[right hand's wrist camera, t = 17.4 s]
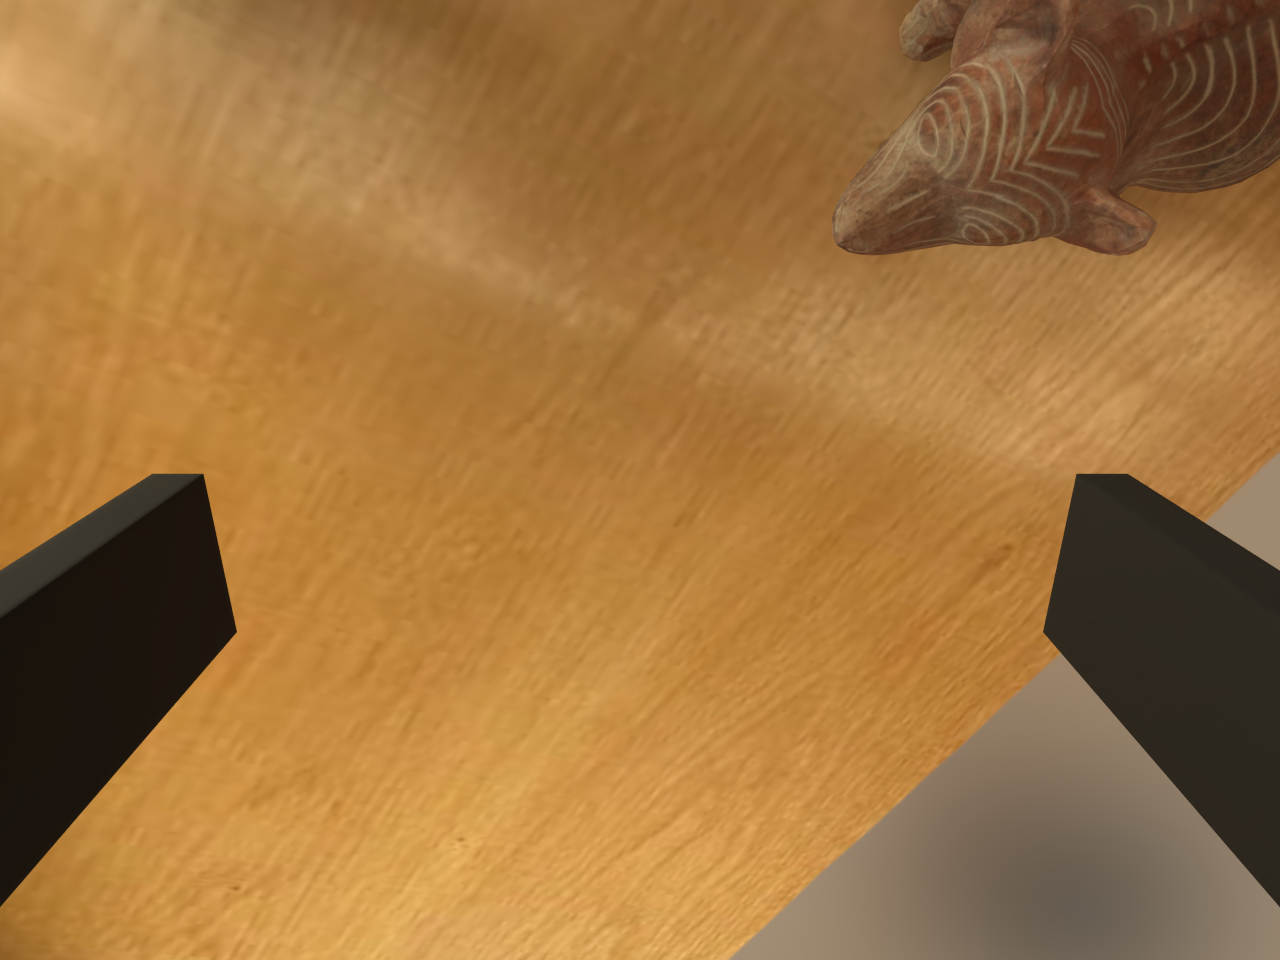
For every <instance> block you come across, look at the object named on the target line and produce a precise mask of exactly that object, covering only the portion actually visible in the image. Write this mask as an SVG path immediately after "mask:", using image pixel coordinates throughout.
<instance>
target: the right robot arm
mask: <svg viewBox="0 0 1280 960" xmlns="http://www.w3.org/2000/svg"><path fill="white" fill-rule="evenodd" d="M236 632H237V630H236V626H235V621H234V616H233V611H232V607H231V602H230V597H229V593H228V588H227V583H226V578H225V574H224V569H223V564H222V560H221V555H220V550H219V545H218V541H217V536H216V531H215V527H214V522H213V517H212V512H211V508H210V503H209V498H208V493H207V489H206V484H205V479H204V475H203V474H151V475H150V476H148V477H147V478H145V479H144V480H142V481H140V482H139V483H137V484H136V485H134V486H133V487H131V488H129V489H128V490H126V491H125V492H123V493H122V494H120V495H118V496H117V497H115V498H114V499H112V500H111V501H109V502H107V503H106V504H104V505H103V506H101V507H100V508H98V509H96V510H95V511H93V512H92V513H90V514H89V515H87V516H85V517H84V518H82V519H81V520H79V521H78V522H76V523H74V524H73V525H71V526H70V527H68V528H67V529H65V530H63V531H62V532H60V533H59V534H57V535H56V536H54V537H52V538H51V539H49V540H48V541H46V542H45V543H43V544H41V545H40V546H38V547H37V548H35V549H34V550H32V551H30V552H29V553H27V554H26V555H24V556H23V557H21V558H19V559H18V560H16V561H15V562H13V563H12V564H10V565H8V566H7V567H5V568H4V569H2V570H1V571H0V907H1V905H2V904H3V903H4V902H5V901H6V900H7V898H8V897H9V896H10V895H11V894H12V893H13V891H14V890H15V889H16V888H17V887H18V886H19V885H20V883H21V882H22V881H23V880H24V879H25V878H26V876H27V875H28V874H29V873H30V872H31V871H32V869H33V868H34V867H35V866H36V865H37V864H38V862H39V861H40V860H41V859H42V858H43V857H44V855H45V854H46V853H47V852H48V851H49V850H50V849H51V847H52V846H53V845H54V844H55V843H56V842H57V840H58V839H59V838H60V837H61V836H62V835H63V833H64V832H65V831H66V830H67V829H68V828H69V826H70V825H71V824H72V823H73V822H74V821H75V819H76V818H77V817H78V816H79V815H80V814H81V813H82V811H83V810H84V809H85V808H86V807H87V806H88V804H89V803H90V802H91V801H92V800H93V799H94V797H95V796H96V795H97V794H98V793H99V792H100V790H101V789H102V788H103V787H104V786H105V785H106V783H107V782H108V781H109V780H110V779H111V778H112V776H113V775H114V774H115V773H116V772H117V771H118V770H119V768H120V767H121V766H122V765H123V764H124V763H125V761H126V760H127V759H128V758H129V757H130V756H131V754H132V753H133V752H134V751H135V750H136V749H137V747H138V746H139V745H140V744H141V743H142V742H143V740H144V739H145V738H146V737H147V736H148V735H149V734H150V732H151V731H152V730H153V729H154V728H155V727H156V725H157V724H158V723H159V722H160V721H161V720H162V718H163V717H164V716H165V715H166V714H167V713H168V711H169V710H170V709H171V708H172V707H173V706H174V704H175V703H176V702H177V701H178V700H179V699H180V697H181V696H182V695H183V694H184V693H185V692H186V691H187V689H188V688H189V687H190V686H191V685H192V684H193V682H194V681H195V680H196V679H197V678H198V677H199V675H200V674H201V673H202V672H203V671H204V670H205V668H206V667H207V666H208V665H209V664H210V663H211V661H212V660H213V659H214V658H215V657H216V656H217V655H218V653H219V652H220V651H221V650H222V649H223V648H224V646H225V645H226V644H227V643H228V642H229V641H230V639H231V638H232V637H233V636H234V635H235V634H236ZM1043 632H1044V634H1045V635H1046V636H1047V637H1048V638H1049V639H1050V641H1051V642H1052V643H1053V644H1054V645H1055V646H1056V648H1057V649H1058V650H1059V651H1060V652H1061V653H1062V655H1063V656H1064V657H1065V658H1066V659H1067V660H1068V661H1069V663H1070V664H1071V665H1072V666H1073V667H1074V668H1075V670H1076V671H1077V672H1078V673H1079V674H1080V675H1081V676H1082V678H1083V679H1084V680H1085V681H1086V682H1087V684H1088V685H1089V686H1090V687H1091V688H1092V689H1093V690H1094V692H1095V693H1096V694H1097V695H1098V696H1099V697H1100V699H1101V700H1102V701H1103V702H1104V703H1105V704H1106V706H1107V707H1108V708H1109V709H1110V710H1111V711H1112V713H1113V714H1114V715H1115V716H1116V717H1117V718H1118V720H1119V721H1120V722H1121V723H1122V724H1123V725H1124V726H1125V728H1126V729H1127V730H1128V731H1129V732H1130V734H1131V735H1132V736H1133V737H1134V738H1135V739H1136V740H1137V742H1138V743H1139V744H1140V745H1141V746H1142V747H1143V749H1144V750H1145V751H1146V752H1147V753H1148V754H1149V756H1150V757H1151V758H1152V759H1153V760H1154V761H1155V763H1156V764H1157V765H1158V766H1159V767H1160V768H1161V770H1162V771H1163V772H1164V773H1165V774H1166V775H1167V776H1168V778H1169V779H1170V780H1171V781H1172V782H1173V783H1174V785H1175V786H1176V787H1177V788H1178V789H1179V790H1180V791H1181V793H1182V794H1183V795H1184V796H1185V797H1186V798H1187V800H1188V801H1189V802H1190V803H1191V804H1192V805H1193V807H1194V808H1195V809H1196V810H1197V811H1198V813H1199V814H1200V815H1201V816H1202V817H1203V818H1204V819H1205V821H1206V822H1207V823H1208V824H1209V825H1210V826H1211V828H1212V829H1213V830H1214V831H1215V832H1216V833H1217V835H1218V836H1219V837H1220V838H1221V839H1222V840H1223V842H1224V843H1225V844H1226V845H1227V846H1228V847H1229V848H1230V850H1231V851H1232V852H1233V853H1234V854H1235V855H1236V857H1237V858H1238V859H1239V860H1240V861H1241V862H1242V864H1243V865H1244V866H1245V867H1246V868H1247V869H1248V871H1249V872H1250V873H1251V874H1252V875H1253V876H1254V877H1255V879H1256V880H1257V881H1258V882H1259V883H1260V885H1261V886H1262V887H1263V888H1264V889H1265V890H1266V891H1267V893H1268V894H1269V895H1270V896H1271V897H1272V898H1273V900H1274V901H1275V902H1276V903H1277V904H1278V905H1279V907H1280V571H1279V570H1278V569H1276V568H1275V567H1273V566H1272V565H1270V564H1268V563H1267V562H1265V561H1264V560H1262V559H1261V558H1259V557H1257V556H1256V555H1254V554H1253V553H1251V552H1250V551H1248V550H1246V549H1245V548H1243V547H1242V546H1240V545H1239V544H1237V543H1235V542H1234V541H1232V540H1231V539H1229V538H1228V537H1226V536H1224V535H1223V534H1221V533H1220V532H1218V531H1217V530H1215V529H1213V528H1212V527H1210V526H1209V525H1207V524H1206V523H1204V522H1202V521H1201V520H1199V519H1198V518H1196V517H1195V516H1193V515H1191V514H1190V513H1188V512H1187V511H1185V510H1184V509H1182V508H1180V507H1179V506H1177V505H1176V504H1174V503H1173V502H1171V501H1169V500H1168V499H1166V498H1165V497H1163V496H1162V495H1160V494H1158V493H1157V492H1155V491H1154V490H1152V489H1151V488H1149V487H1147V486H1146V485H1144V484H1143V483H1141V482H1140V481H1138V480H1136V479H1135V478H1133V477H1132V476H1130V475H1129V474H1077V475H1076V479H1075V484H1074V489H1073V493H1072V498H1071V503H1070V508H1069V512H1068V517H1067V522H1066V526H1065V531H1064V536H1063V541H1062V545H1061V550H1060V555H1059V560H1058V564H1057V569H1056V574H1055V578H1054V583H1053V588H1052V593H1051V597H1050V602H1049V607H1048V611H1047V616H1046V621H1045V626H1044V630H1043Z"/></svg>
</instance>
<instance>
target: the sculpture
mask: <svg viewBox="0 0 1280 960" xmlns="http://www.w3.org/2000/svg"><path fill="white" fill-rule="evenodd" d="M899 35H900V47H901V49H902V51H903V53H904V55H906V56H907V57H909V58H910V59H912V60H917V61H929V60H931V59H933V58H935V57H937V56H939V55H941V54H943V53H944V52H946V51H948V50H949V49H951V48H952V47H953V48H952V53H951V59H950V64H951V71H950V72H949V73H948V74H947V75H946V76H945V77H944V78H943V79H942V80H941V81H940V82H939V83H938V84H937V85H936V86H935V87H934V88H933V90H932V91H931V92H930V93H929V94H928V95H927V96H926V97H925V98H924V99H923V101H922V102H921V103H920V104H919V105H918V106H917V107H916V109H915V110H914V111H913V112H912V114H911V115H910V116H909V117H908V118H907V120H906V121H905V122H904V123H903V124H902V125H901V126H900V127H899V128H898V129H897V130H895V131H894V132H893V133H892V134H891V135H890V136H889V137H888V138H887V139H886V140H885V141H883V142H882V143H881V145H880V146H879V147H878V149H877V150H876V151H875V152H874V154H873V155H872V156H871V157H870V159H869V160H868V161H867V162H866V164H865V165H864V167H863V168H862V169H861V170H860V171H859V173H858V174H857V175H856V176H855V177H854V178H853V180H852V181H851V182H850V184H849V185H848V186H847V188H846V189H845V191H844V192H843V193H842V195H841V197H840V198H839V200H838V202H837V205H836V209H835V212H834V215H833V218H832V236H833V238H834V240H835V242H836V244H837V245H838V246H839V247H841V248H842V249H844V250H846V251H847V252H851V253H856V254H861V255H884V254H894V253H901V252H906V251H911V250H918V249H924V248H930V247H936V246H942V245H949V244H963V245H978V246H1006V245H1011V244H1018V243H1022V242H1026V241H1035V240H1037V239H1039V238H1044V237H1049V236H1053V237H1056V238H1058V239H1060V240H1062V241H1064V242H1067V243H1070V244H1073V245H1077V246H1080V247H1084V248H1087V249H1089V250H1092V251H1094V252H1098V253H1103V254H1109V255H1128V254H1131V253H1133V252H1135V251H1137V250H1139V249H1141V248H1142V247H1144V246H1145V245H1146V244H1147V242H1148V240H1149V239H1150V237H1151V235H1152V234H1153V232H1154V230H1155V229H1156V226H1157V222H1156V221H1155V220H1154V219H1153V218H1151V217H1150V216H1149V215H1148V214H1147V213H1145V212H1144V211H1143V210H1141V209H1139V208H1137V207H1135V206H1134V205H1132V204H1130V203H1128V202H1126V201H1124V200H1123V199H1121V198H1120V197H1119V195H1120V194H1121V193H1122V192H1123V191H1124V190H1125V189H1126V188H1127V187H1130V186H1140V187H1144V188H1148V189H1152V190H1158V191H1164V192H1177V193H1196V192H1202V191H1208V190H1213V189H1219V188H1224V187H1227V186H1230V185H1233V184H1236V183H1239V182H1242V181H1244V180H1246V179H1247V178H1249V177H1251V176H1253V175H1255V174H1257V173H1259V172H1260V171H1262V170H1264V169H1266V168H1268V167H1269V166H1270V165H1272V164H1273V163H1274V162H1276V161H1277V160H1278V159H1280V0H919V1H918V2H917V3H916V4H915V5H914V7H913V8H912V9H911V10H910V11H909V12H908V13H907V15H906V17H905V19H904V20H903V23H902V25H901V27H900V29H899Z"/></svg>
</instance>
